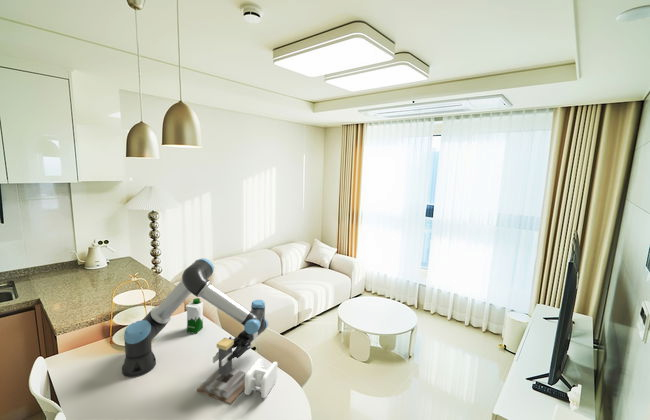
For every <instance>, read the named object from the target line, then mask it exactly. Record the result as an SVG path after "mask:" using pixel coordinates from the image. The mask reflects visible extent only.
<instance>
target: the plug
mask: <svg viewBox="0 0 650 420" xmlns="http://www.w3.org/2000/svg"><path fill="white" fill-rule="evenodd" d="M231 339H232V338H231ZM231 339H229V338H227V337H223V338H222V339H220V340H219V341H218V342H217V343H216V348H217V349H218V352H219V359H218V369H219V374H222V375H224V376H227V375H228V374H229V373H230V372H231V371H232V368H233V359H232V360H231V361H228V362H227V363H226V364H225V365H224V366H221V360H223V359H224V358H225V357H226V356H227V355H228V354H230V353H232V351H233V348H232V345H233V344H234V340H231Z"/></svg>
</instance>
